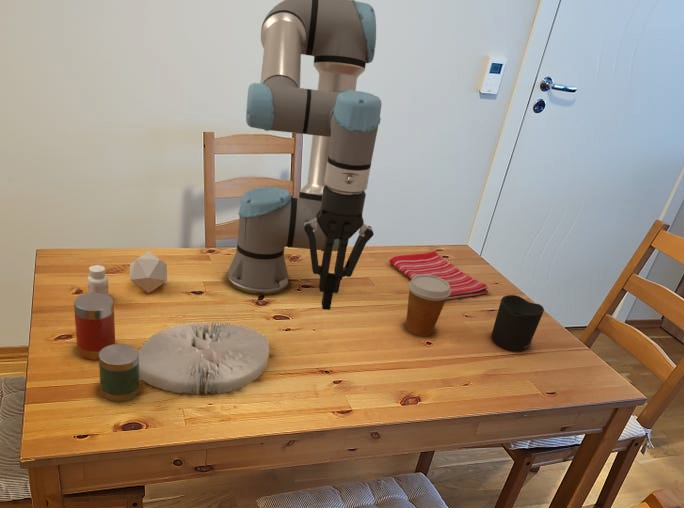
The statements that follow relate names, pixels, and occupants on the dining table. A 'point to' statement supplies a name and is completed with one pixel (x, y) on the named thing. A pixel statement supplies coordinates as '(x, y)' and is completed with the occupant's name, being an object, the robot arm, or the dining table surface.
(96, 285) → the pill bottle
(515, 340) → the pen holder
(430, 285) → the disposable coffee cup
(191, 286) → the dining table surface
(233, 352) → the spiky fractal disc
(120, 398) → the bean tin
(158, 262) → the die
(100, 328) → the tomato tin
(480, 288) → the dish towel
